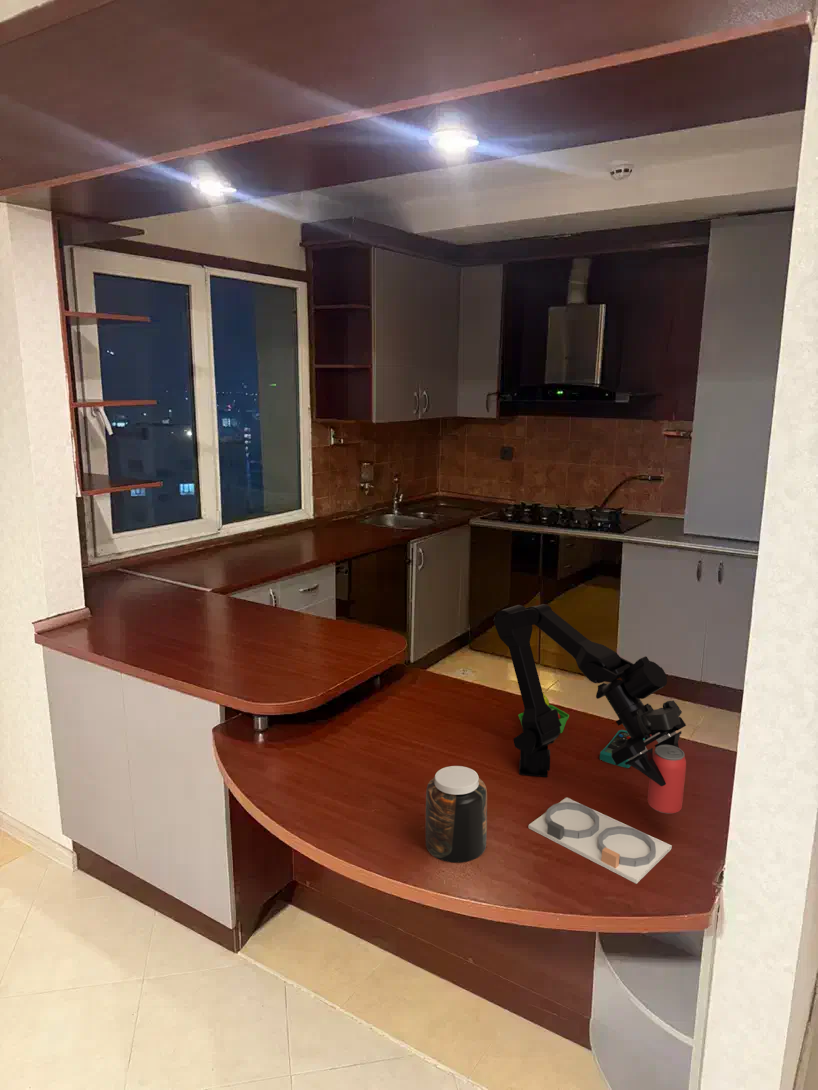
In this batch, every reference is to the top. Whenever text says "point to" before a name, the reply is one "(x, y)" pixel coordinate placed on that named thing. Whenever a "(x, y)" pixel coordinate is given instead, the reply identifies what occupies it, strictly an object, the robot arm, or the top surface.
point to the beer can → (668, 780)
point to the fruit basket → (561, 715)
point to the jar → (456, 815)
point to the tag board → (601, 839)
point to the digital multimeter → (613, 744)
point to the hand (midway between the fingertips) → (673, 779)
